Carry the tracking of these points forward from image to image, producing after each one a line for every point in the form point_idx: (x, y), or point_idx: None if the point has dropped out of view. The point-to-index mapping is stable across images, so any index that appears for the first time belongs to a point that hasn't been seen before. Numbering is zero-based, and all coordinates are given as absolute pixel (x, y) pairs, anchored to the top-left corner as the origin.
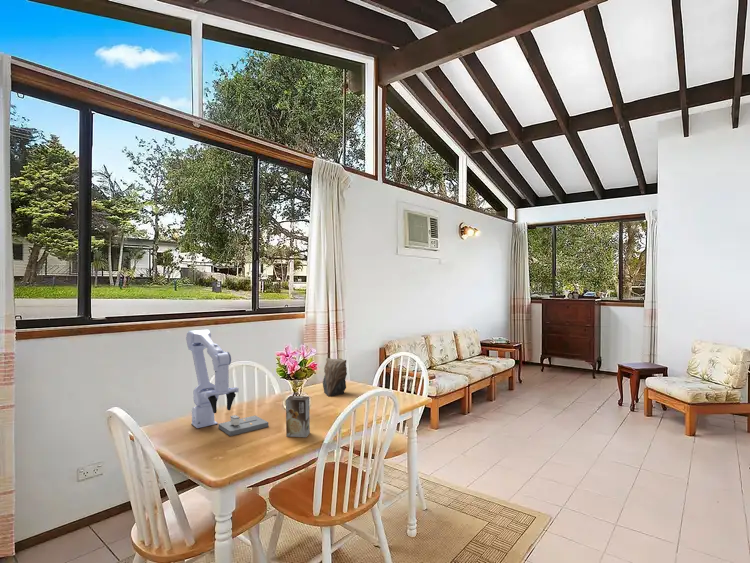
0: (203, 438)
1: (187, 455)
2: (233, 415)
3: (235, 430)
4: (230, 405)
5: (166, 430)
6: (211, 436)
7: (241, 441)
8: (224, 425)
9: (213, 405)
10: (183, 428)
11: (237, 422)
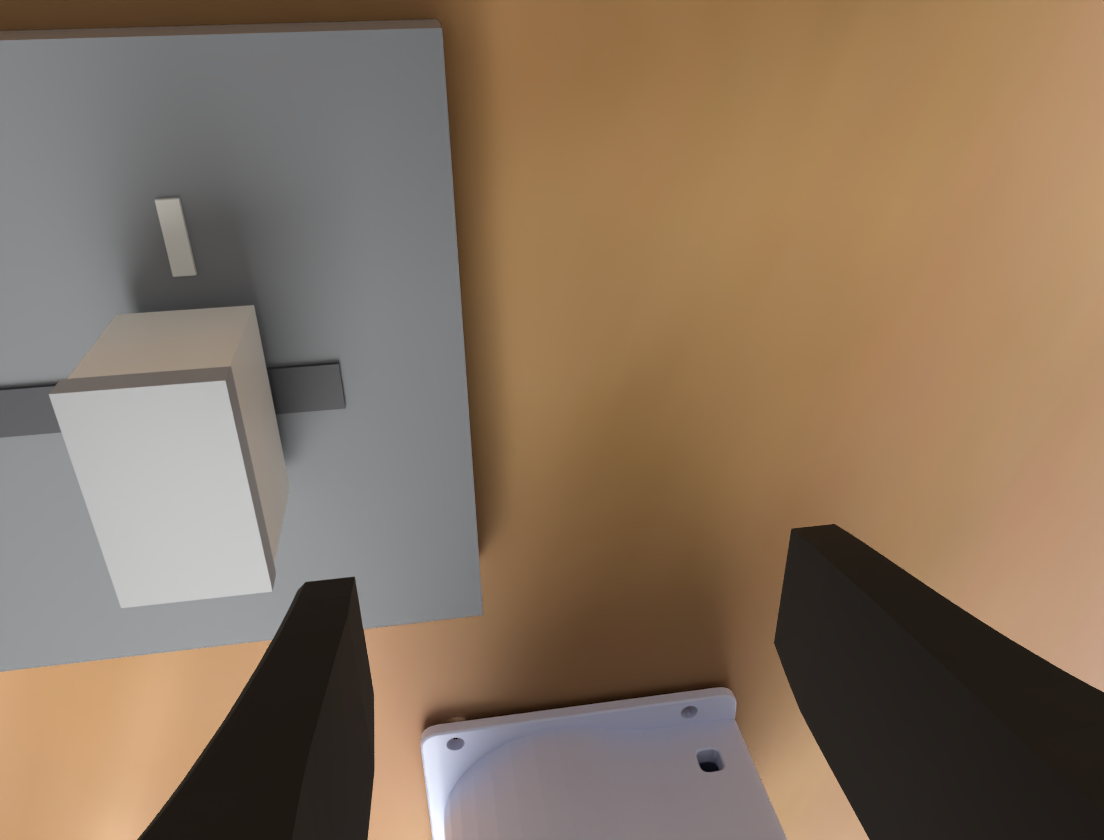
0: (868, 240)
1: None
2: (187, 600)
3: (297, 32)
4: (287, 688)
5: None
6: (726, 252)
7: None
8: (419, 479)
9: (1101, 702)
10: None
11: (155, 336)
